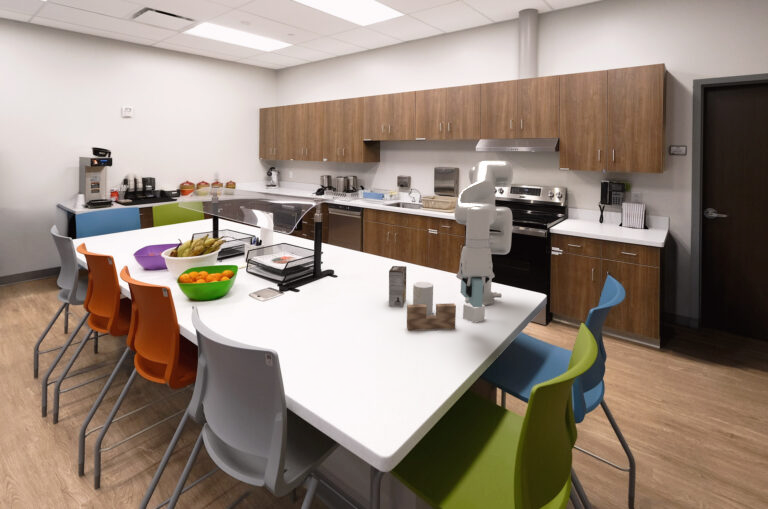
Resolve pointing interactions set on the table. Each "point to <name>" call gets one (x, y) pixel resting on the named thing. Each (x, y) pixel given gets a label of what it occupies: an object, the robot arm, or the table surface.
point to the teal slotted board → (474, 291)
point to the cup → (423, 295)
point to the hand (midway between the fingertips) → (474, 295)
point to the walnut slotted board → (431, 317)
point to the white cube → (473, 312)
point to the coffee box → (397, 286)
